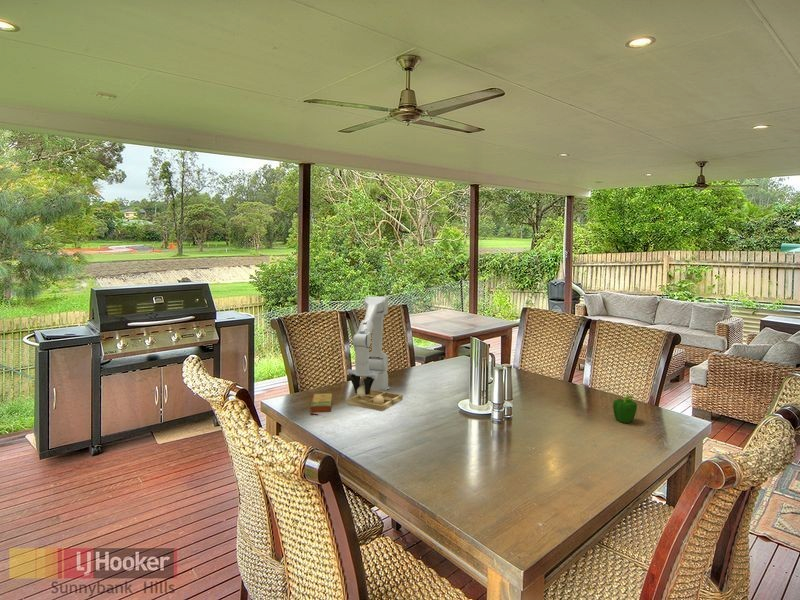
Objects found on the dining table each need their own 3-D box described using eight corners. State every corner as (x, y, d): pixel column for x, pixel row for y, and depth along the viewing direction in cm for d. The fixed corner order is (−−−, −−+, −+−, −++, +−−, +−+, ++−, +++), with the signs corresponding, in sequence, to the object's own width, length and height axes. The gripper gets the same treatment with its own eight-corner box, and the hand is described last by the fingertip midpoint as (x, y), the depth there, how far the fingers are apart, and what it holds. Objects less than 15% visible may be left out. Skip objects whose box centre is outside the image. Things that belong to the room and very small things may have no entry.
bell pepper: (612, 423, 186) (614, 397, 185) (611, 416, 193) (612, 391, 192) (637, 426, 183) (638, 400, 182) (634, 418, 191) (636, 393, 189)
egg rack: (369, 395, 218) (369, 388, 218) (402, 401, 210) (402, 394, 210) (347, 407, 204) (347, 399, 203) (382, 413, 195) (382, 406, 195)
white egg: (360, 394, 208) (360, 383, 207) (369, 395, 206) (369, 385, 205) (354, 397, 204) (354, 386, 203) (364, 399, 202) (364, 388, 201)
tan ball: (376, 403, 204) (376, 392, 204) (386, 405, 202) (386, 394, 202) (370, 406, 201) (370, 395, 200) (380, 408, 198) (380, 397, 198)
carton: (332, 402, 211) (332, 392, 210) (331, 415, 195) (331, 405, 194) (313, 403, 210) (313, 393, 209) (310, 416, 194) (310, 405, 193)
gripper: (342, 361, 203) (342, 393, 205) (371, 365, 196) (371, 398, 198) (352, 358, 209) (352, 388, 211) (380, 362, 202) (380, 393, 204)
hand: (362, 393), depth 205 cm, fingers closed on white egg, 5 cm apart
